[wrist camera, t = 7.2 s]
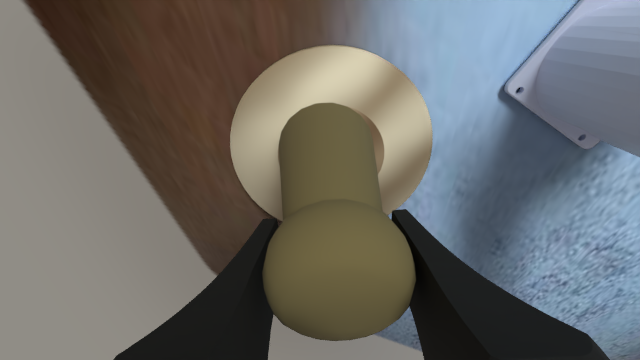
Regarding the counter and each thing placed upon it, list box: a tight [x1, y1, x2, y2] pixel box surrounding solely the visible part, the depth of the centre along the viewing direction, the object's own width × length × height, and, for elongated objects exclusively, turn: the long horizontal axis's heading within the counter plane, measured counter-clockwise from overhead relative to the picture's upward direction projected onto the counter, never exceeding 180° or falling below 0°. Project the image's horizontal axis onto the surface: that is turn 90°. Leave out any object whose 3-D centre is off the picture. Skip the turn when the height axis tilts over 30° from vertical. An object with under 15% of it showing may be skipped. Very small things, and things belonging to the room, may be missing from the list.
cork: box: [262, 102, 416, 341], centre depth 12 cm, size 6×6×11 cm
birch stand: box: [230, 45, 432, 221], centre depth 21 cm, size 15×15×2 cm
